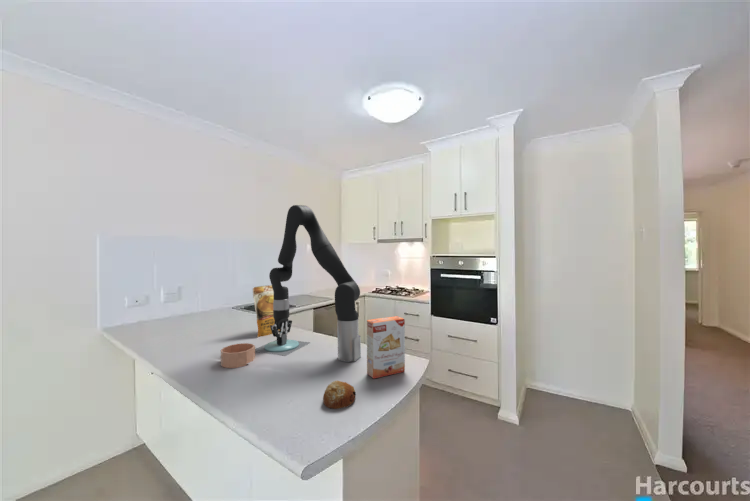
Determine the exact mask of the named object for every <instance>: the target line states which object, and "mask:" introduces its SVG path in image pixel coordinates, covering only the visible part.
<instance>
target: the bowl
mask: <svg viewBox="0 0 750 501" xmlns="http://www.w3.org/2000/svg"><path fill="white" fill-rule="evenodd" d="M255 349H256V345H255V344H254V343H249V342H248V343H247V342H243V343H241V342H240V343H236V344H235V343H234V344H231V345H227V346H225V347H222V349H221V350H220V366H222V368H227V369H237V368H242V367H245V366H249V365H250V364H249V363H251V362H253V361H254V360H255V359H256V352H255Z"/></svg>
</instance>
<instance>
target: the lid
mask: <svg viewBox="0 0 750 501" xmlns="http://www.w3.org/2000/svg"><path fill="white" fill-rule="evenodd" d="M281 337H282V344H281V345H278V344H277V341H275V340H273V341H271V342H267V343H266V344H264V345H265V350H266V351H269V352H285V351H289V350H293V349H295V348H297V347H298V346H299V342H298V341H299V340H295V339H287V342H286V334H284V333H282V336H281Z"/></svg>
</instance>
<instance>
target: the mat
mask: <svg viewBox="0 0 750 501" xmlns="http://www.w3.org/2000/svg"><path fill="white" fill-rule="evenodd" d="M274 341H277V339H275V340H274ZM297 341H298V342H299V346H298V347H297V348H295V349H293V350H289V351H285V352H269V351H266V350H265V345H266V344H263V345H261V346H259V347H257V348H256V347H255V353H262V354H267V355H268V354H269V355H274V356H275V355H277V356H283V357H286V356H288V355H290V354H292V353H294V352H296V351H298V350H300V349H302V348H303V347H305V346H308V345H310V344H311V342H309V341H300V340H297Z"/></svg>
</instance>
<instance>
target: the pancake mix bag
mask: <svg viewBox="0 0 750 501" xmlns="http://www.w3.org/2000/svg"><path fill="white" fill-rule="evenodd" d="M252 298H253V304H254V309H255V314H256V324H257V336H256V338H260V337H266V336H271V335H273V334H272V331H271V328H270V326H273V325H274V323H275V319H274V318H273V301H274V292H273V288H272V284H270V285H268V284H267V285H259V286H253V288H252Z"/></svg>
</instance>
